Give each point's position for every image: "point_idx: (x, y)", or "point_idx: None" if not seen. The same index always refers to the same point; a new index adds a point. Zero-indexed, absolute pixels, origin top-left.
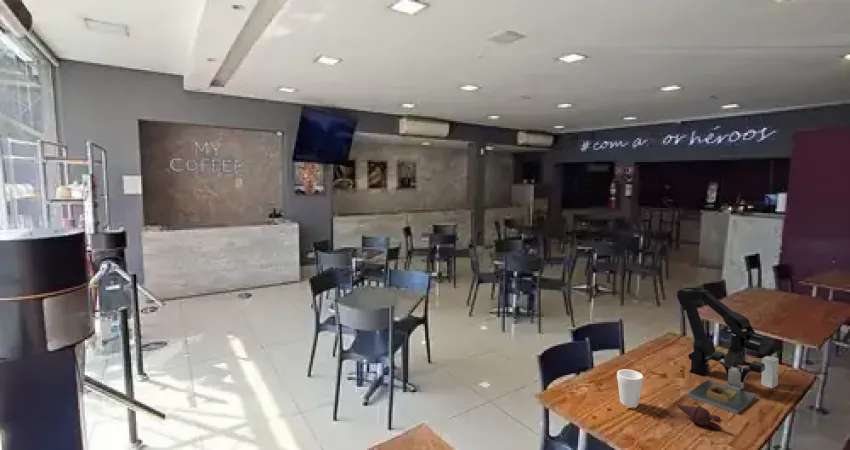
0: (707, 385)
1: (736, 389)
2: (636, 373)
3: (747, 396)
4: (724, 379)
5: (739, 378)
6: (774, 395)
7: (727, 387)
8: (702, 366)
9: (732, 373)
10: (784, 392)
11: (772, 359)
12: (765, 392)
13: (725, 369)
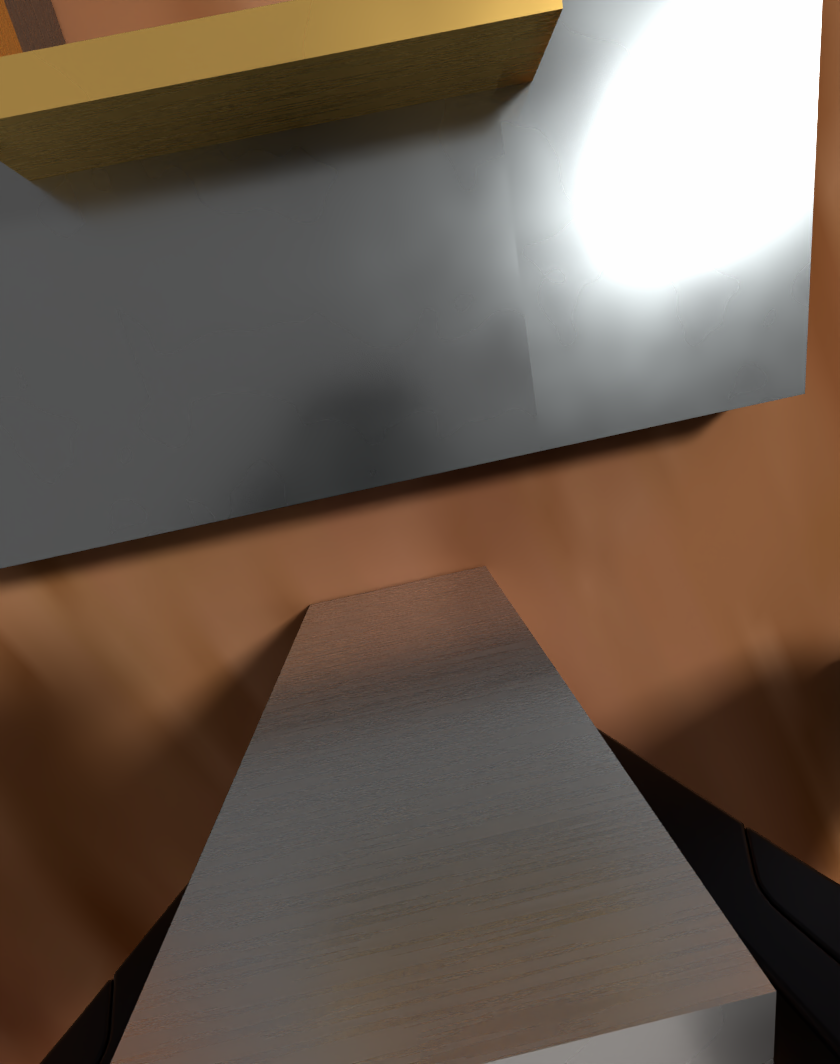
0: (695, 34)
1: (255, 480)
2: None
3: None
4: (643, 756)
5: (259, 780)
6: (18, 881)
7: (398, 400)
8: None
9: (488, 830)
10: (58, 1033)
11: None
12: (131, 862)
13: (836, 884)
